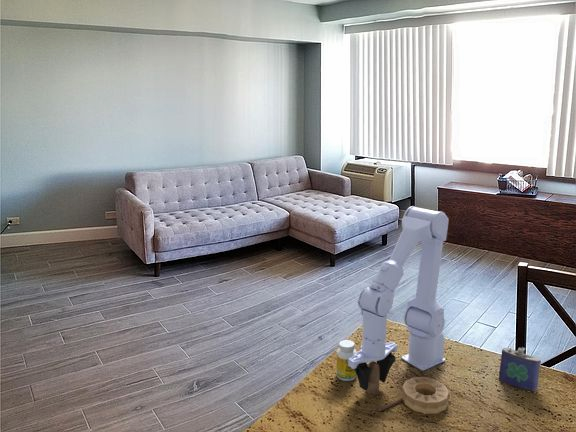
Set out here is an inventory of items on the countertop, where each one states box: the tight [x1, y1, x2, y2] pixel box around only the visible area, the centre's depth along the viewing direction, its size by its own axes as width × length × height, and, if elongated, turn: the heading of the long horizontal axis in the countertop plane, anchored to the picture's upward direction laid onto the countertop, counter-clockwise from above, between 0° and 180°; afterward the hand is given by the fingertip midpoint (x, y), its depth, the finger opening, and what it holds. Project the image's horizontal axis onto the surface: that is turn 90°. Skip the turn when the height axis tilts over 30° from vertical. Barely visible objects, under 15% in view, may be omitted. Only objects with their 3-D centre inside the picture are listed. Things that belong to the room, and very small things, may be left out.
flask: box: [498, 346, 542, 393], centre depth 126 cm, size 9×3×11 cm, turn 50°
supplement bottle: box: [336, 339, 358, 382], centre depth 132 cm, size 5×5×10 cm
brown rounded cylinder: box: [365, 361, 380, 396], centre depth 125 cm, size 3×3×8 cm
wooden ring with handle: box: [378, 376, 450, 415], centre depth 120 cm, size 18×10×3 cm, turn 123°
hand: (372, 384), depth 126 cm, fingers open, 5 cm apart
